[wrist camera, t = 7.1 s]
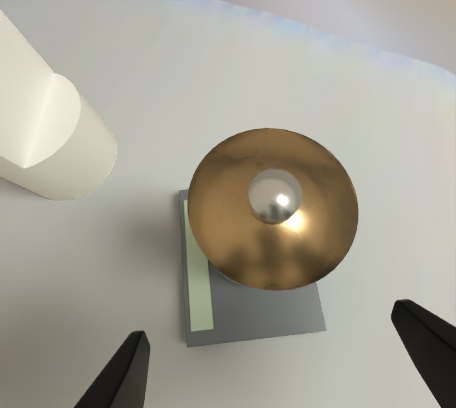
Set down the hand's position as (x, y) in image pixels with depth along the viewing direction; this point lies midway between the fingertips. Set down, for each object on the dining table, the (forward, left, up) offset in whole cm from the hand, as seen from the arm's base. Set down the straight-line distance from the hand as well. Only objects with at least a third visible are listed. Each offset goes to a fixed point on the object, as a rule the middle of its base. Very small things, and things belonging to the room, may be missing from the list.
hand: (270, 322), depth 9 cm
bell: (+3, +2, -10) cm, 11 cm away
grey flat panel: (+3, +2, -11) cm, 12 cm away
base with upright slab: (+6, +21, -11) cm, 24 cm away
